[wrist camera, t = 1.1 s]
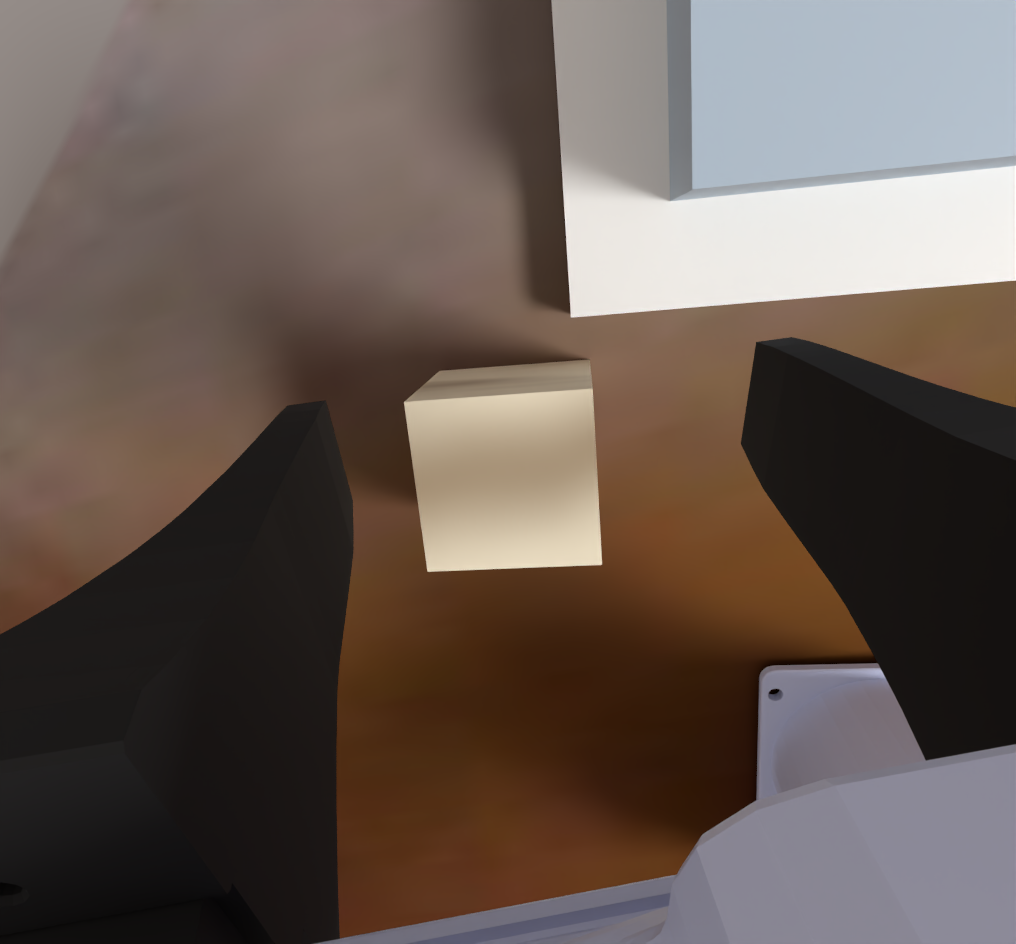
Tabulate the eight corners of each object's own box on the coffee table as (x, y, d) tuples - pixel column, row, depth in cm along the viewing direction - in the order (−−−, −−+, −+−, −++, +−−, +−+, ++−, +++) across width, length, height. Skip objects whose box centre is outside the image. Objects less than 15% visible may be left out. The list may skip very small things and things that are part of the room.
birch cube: (597, 502, 24) (601, 564, 19) (456, 509, 24) (427, 571, 20) (589, 358, 22) (592, 388, 18) (440, 370, 23) (404, 402, 18)
